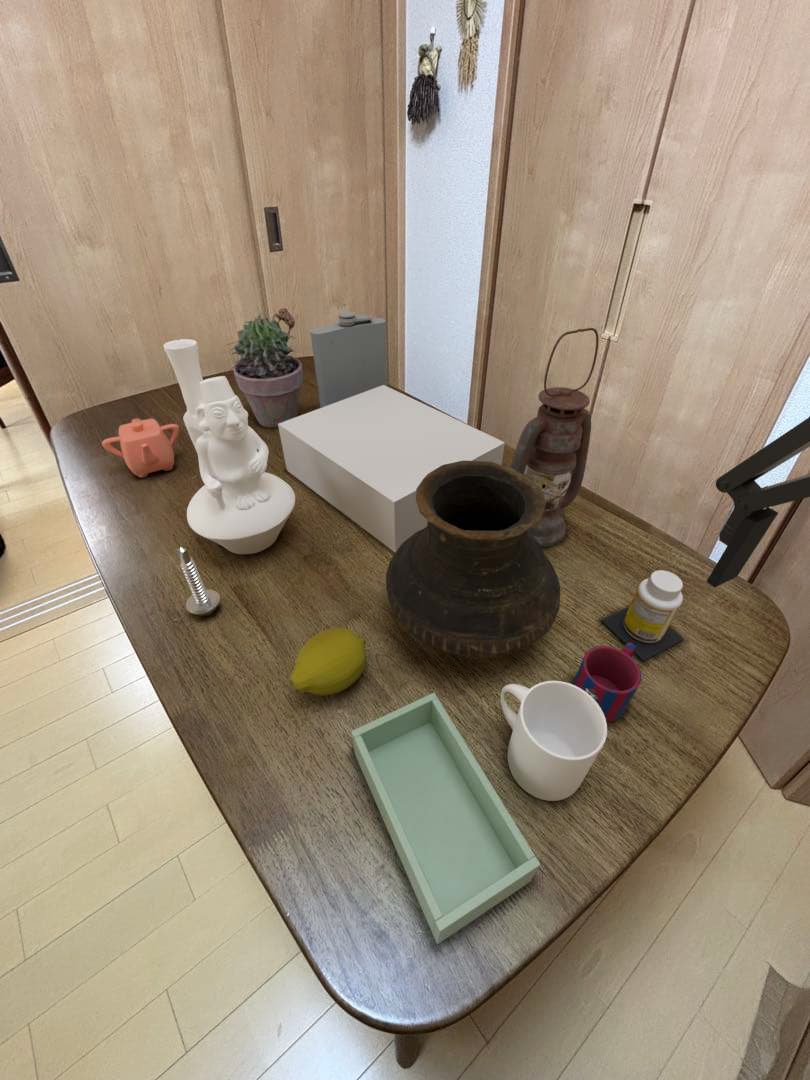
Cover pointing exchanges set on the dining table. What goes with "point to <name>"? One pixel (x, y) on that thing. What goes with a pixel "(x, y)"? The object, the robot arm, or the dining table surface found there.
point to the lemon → (329, 662)
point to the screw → (197, 588)
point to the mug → (553, 737)
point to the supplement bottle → (654, 606)
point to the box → (379, 457)
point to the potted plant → (268, 370)
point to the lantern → (556, 450)
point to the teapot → (144, 446)
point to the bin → (442, 815)
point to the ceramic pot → (475, 563)
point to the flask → (349, 357)
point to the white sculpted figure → (228, 462)
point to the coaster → (642, 648)
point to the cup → (609, 678)
